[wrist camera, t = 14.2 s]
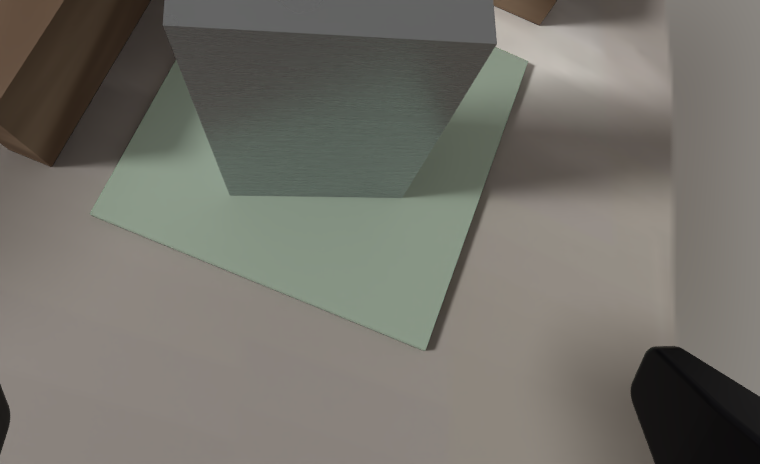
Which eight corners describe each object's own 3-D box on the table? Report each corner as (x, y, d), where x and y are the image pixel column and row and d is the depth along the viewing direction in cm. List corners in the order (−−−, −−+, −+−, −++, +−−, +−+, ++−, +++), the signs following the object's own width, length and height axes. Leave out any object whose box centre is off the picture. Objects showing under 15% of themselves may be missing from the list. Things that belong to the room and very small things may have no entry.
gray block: (402, 197, 20) (496, 43, 11) (229, 195, 19) (163, 25, 10) (395, 24, 22) (472, -247, 12) (236, 14, 21) (183, -284, 11)
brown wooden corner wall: (549, -4, 24) (599, -76, 20) (433, 323, 20) (466, 312, 16) (200, -158, 23) (181, -264, 19) (9, 149, 19) (-64, 94, 15)
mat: (525, 65, 23) (528, 61, 22) (423, 351, 19) (425, 350, 19) (244, -57, 22) (244, -63, 22) (92, 216, 19) (89, 213, 19)
